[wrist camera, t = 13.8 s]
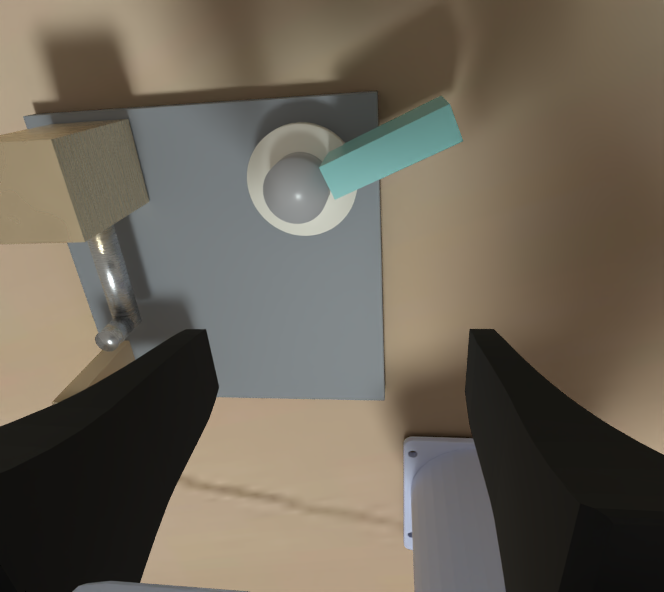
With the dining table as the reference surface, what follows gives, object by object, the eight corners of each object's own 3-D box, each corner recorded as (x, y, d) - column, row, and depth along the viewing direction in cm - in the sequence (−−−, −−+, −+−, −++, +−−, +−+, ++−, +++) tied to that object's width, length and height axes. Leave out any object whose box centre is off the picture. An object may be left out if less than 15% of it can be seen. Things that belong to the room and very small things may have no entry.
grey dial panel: (384, 390, 26) (382, 476, 20) (127, 386, 28) (66, 462, 22) (377, 90, 19) (371, 106, 14) (35, 113, 21) (-81, 135, 16)
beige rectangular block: (177, 313, 24) (128, 373, 19) (113, 313, 24) (50, 372, 20) (128, 119, 19) (51, 139, 15) (51, 123, 20) (-46, 145, 16)
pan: (424, 50, 16) (430, 50, 14) (466, 165, 18) (480, 187, 15) (230, 152, 19) (202, 170, 16) (283, 246, 21) (266, 277, 18)
